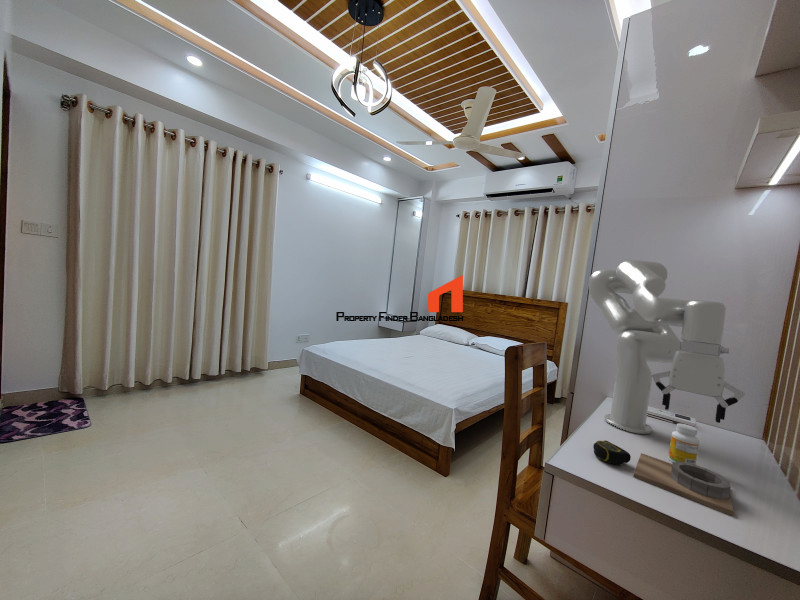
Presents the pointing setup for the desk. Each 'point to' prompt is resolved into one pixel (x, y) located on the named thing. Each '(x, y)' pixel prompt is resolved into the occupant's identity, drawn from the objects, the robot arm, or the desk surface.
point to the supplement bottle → (684, 444)
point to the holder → (686, 482)
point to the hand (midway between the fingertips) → (691, 414)
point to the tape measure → (611, 453)
